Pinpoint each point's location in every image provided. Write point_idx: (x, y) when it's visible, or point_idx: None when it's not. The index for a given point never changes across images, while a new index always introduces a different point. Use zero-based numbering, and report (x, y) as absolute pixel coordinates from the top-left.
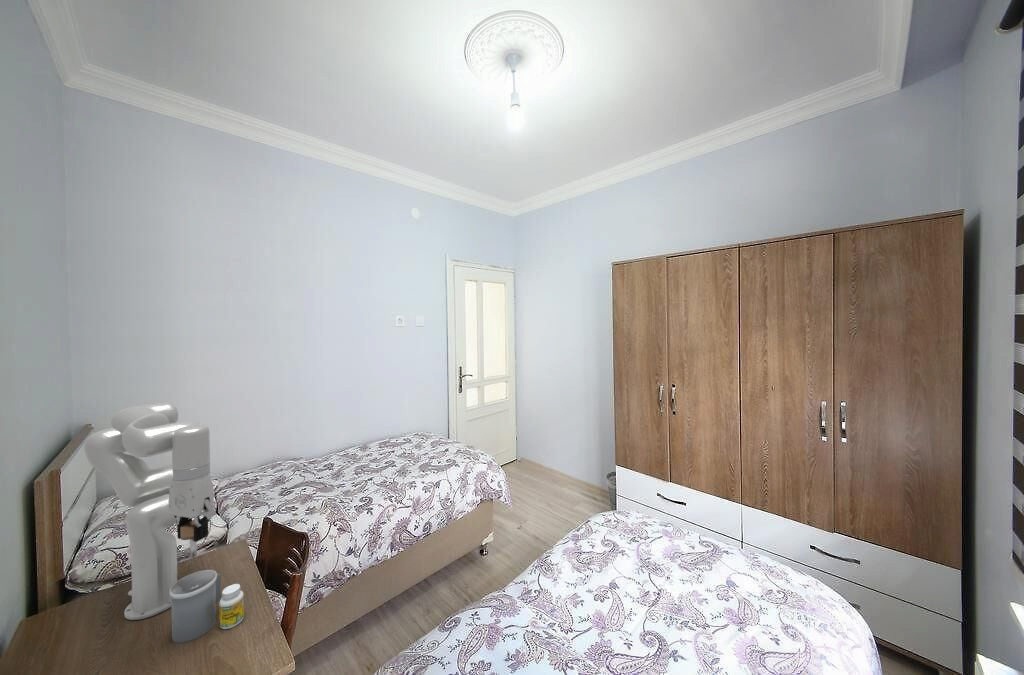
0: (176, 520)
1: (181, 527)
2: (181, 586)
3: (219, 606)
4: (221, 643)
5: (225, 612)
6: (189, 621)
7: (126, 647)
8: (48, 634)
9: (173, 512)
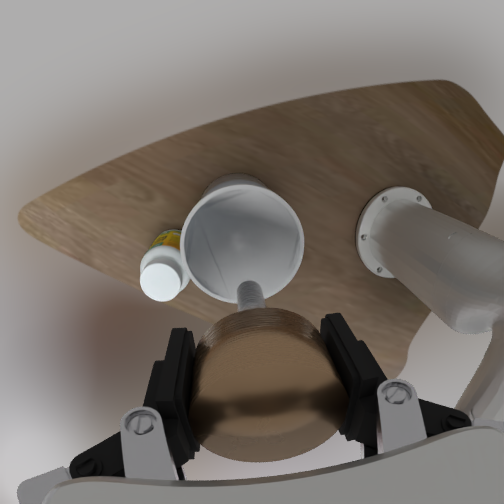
0: (411, 397)
1: (305, 373)
2: (259, 220)
3: (174, 246)
4: (136, 205)
5: (155, 243)
6: (205, 192)
7: (325, 135)
8: (475, 135)
9: (439, 471)
